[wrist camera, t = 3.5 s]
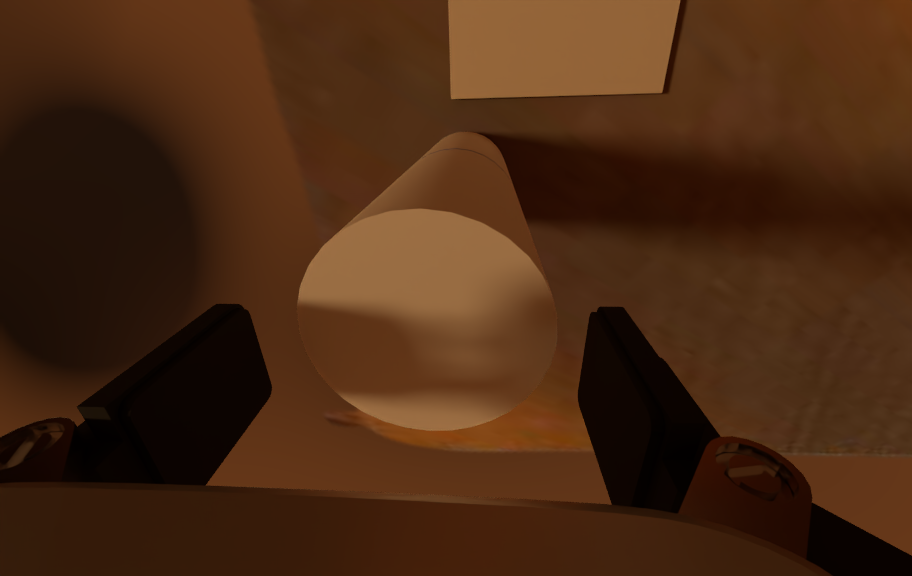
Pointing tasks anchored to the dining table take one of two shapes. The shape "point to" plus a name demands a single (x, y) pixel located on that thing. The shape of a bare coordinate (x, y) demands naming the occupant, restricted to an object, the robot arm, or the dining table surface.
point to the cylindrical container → (433, 296)
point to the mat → (559, 47)
